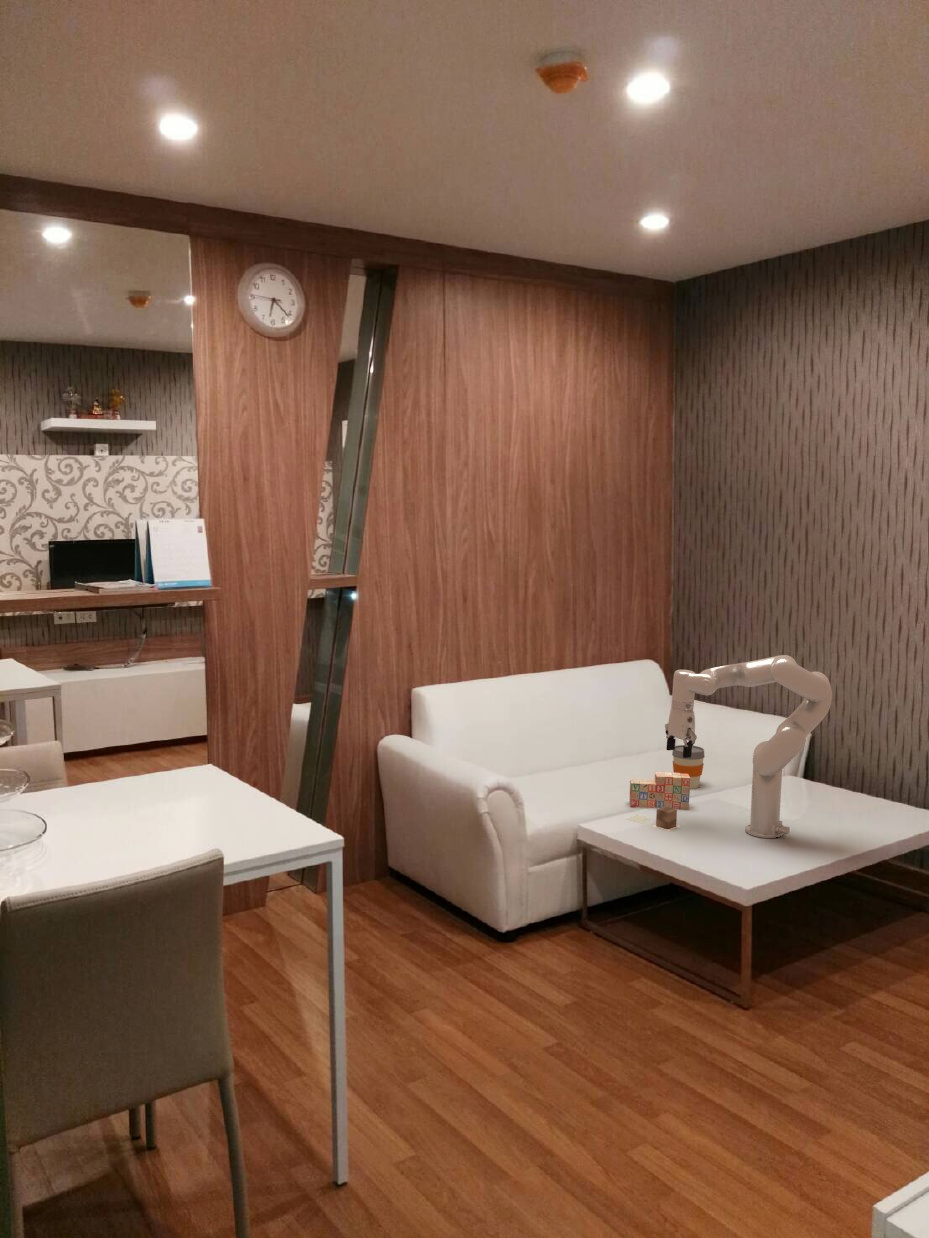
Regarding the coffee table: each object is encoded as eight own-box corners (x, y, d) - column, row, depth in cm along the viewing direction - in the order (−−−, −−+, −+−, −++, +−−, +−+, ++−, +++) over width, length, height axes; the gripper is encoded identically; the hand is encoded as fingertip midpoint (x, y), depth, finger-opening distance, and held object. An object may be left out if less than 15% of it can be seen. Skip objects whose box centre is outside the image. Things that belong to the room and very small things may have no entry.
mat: (690, 825, 353) (690, 824, 353) (665, 835, 341) (666, 834, 341) (640, 811, 367) (640, 810, 367) (614, 821, 355) (614, 820, 355)
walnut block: (676, 826, 350) (676, 809, 350) (668, 829, 347) (669, 812, 346) (663, 822, 354) (664, 806, 353) (656, 826, 350) (656, 809, 349)
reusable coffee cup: (685, 791, 393) (687, 754, 391) (664, 783, 404) (665, 746, 402) (710, 787, 399) (711, 750, 397) (688, 779, 410) (690, 743, 408)
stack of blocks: (630, 807, 372) (631, 775, 371) (629, 802, 378) (630, 770, 377) (689, 810, 370) (690, 777, 368) (687, 805, 376) (688, 773, 375)
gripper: (706, 710, 343) (702, 759, 345) (677, 699, 359) (673, 746, 361) (688, 711, 340) (684, 761, 342) (659, 700, 356) (655, 747, 358)
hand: (678, 753), depth 352 cm, fingers open, 9 cm apart
